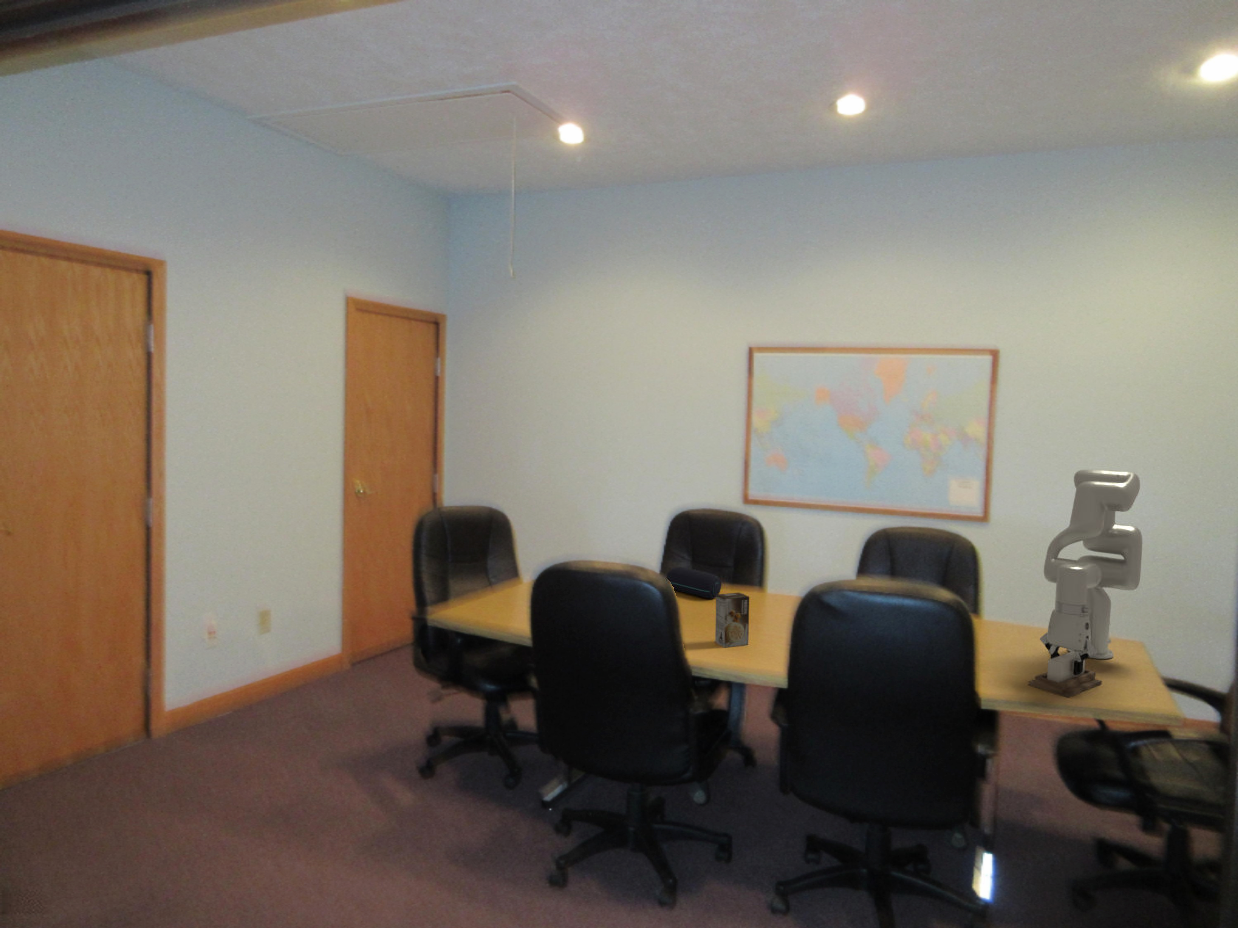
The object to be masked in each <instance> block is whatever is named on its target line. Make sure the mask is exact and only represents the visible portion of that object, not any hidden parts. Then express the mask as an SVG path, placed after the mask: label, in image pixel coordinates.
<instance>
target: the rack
mask: <svg viewBox="0 0 1238 928" xmlns="http://www.w3.org/2000/svg"><path fill="white" fill-rule="evenodd" d="M1096 673H1097V672H1096V671H1094V670H1093V671H1092V670H1089V669H1086V668H1085V670H1084V674H1083V675H1080V676H1078V677H1075V678H1073V679H1070V680H1067V681H1065V682H1062V683H1059V682H1056V681H1052V680H1049V679H1047V674H1048V671H1047V672H1044V673H1041V674H1039V675H1036V676H1034V679H1032V680H1029V681H1028V682H1027V683H1028V684H1027V685H1028V686H1030V687H1032V688H1033V687H1034V688H1036V689H1039V690H1040V689H1041V690H1043V691H1047V692H1049V693H1053V694H1056V695H1059V696H1063V697H1066V698H1071V697H1073V696H1075V695H1078V694H1080V693H1083V692H1086V691H1089V690H1090V688H1091V689H1093V688H1095V687H1096V688H1097V687H1098V686H1101V685H1102V684H1103V683H1102V682H1103V680H1100V679H1096V676H1097V675H1096Z"/></svg>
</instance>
